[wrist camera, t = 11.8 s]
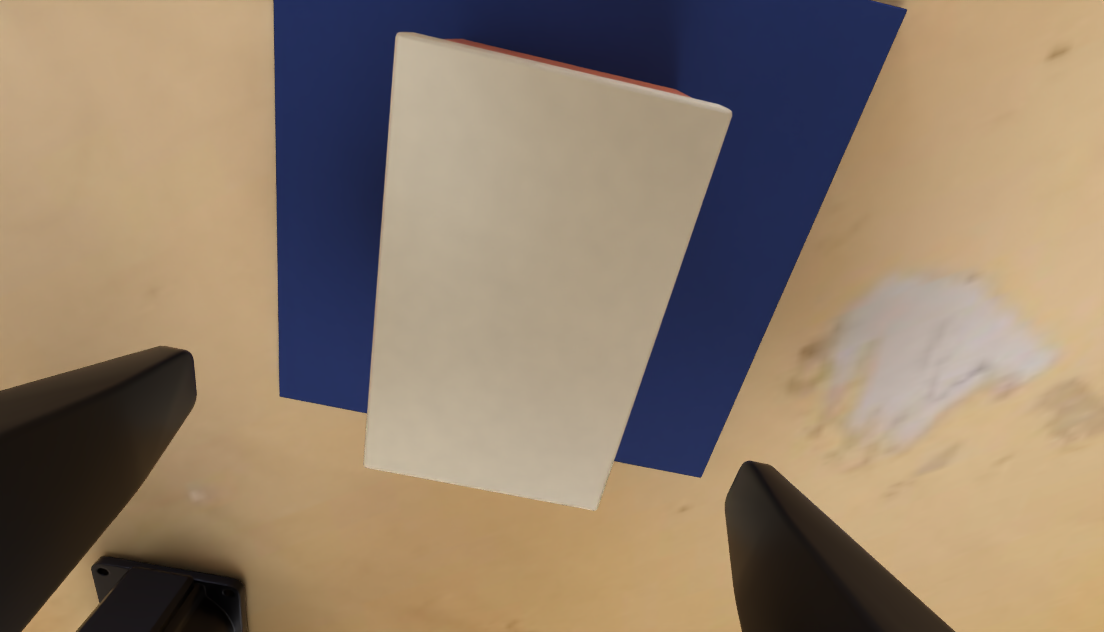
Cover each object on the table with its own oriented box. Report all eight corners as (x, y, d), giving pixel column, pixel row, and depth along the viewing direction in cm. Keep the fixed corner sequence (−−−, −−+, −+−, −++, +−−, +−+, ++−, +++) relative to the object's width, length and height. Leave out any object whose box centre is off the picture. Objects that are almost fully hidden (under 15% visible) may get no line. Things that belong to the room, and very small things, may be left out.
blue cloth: (699, 472, 21) (701, 478, 21) (282, 392, 20) (279, 396, 20) (902, 10, 14) (908, 9, 14) (277, -146, 13) (270, -150, 13)
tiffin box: (592, 391, 20) (597, 513, 15) (417, 356, 19) (361, 468, 14) (682, 86, 15) (735, 111, 10) (456, 33, 15) (393, 30, 10)
